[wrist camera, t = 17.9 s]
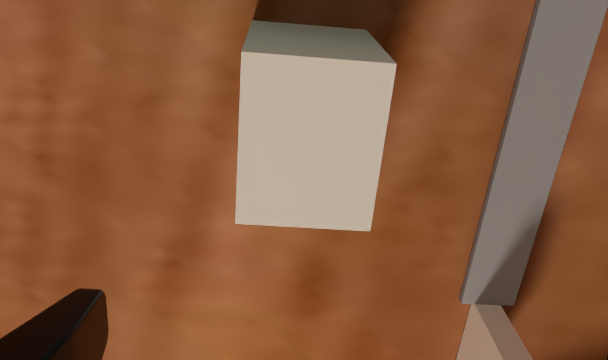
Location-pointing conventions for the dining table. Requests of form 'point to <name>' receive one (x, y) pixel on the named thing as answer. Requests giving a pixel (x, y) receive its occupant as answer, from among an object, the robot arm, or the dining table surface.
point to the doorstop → (311, 126)
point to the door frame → (526, 170)
